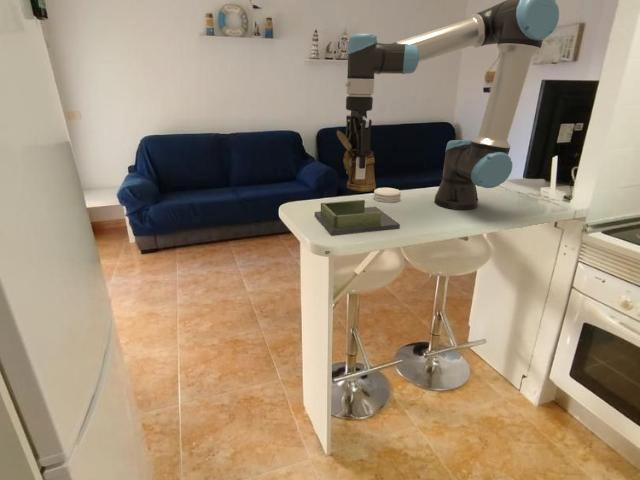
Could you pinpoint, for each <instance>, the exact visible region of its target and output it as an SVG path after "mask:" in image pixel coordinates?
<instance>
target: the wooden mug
mask: <svg viewBox="0 0 640 480" xmlns="http://www.w3.org/2000/svg"><path fill="white" fill-rule="evenodd" d="M336 136H337V138H338V140H339V141H340V143H341V144H342V145H343V147H344V148H345V149H346V150H345V152H344V155H343V160H342V161H343V167H344V169H345V171H346V174H347V173H348V174H347V175H348V180H347V184H346V188H347V189H349V190H351V191H353V192H361V193H362V192H365V193H366V192H374V190H376V189H377V186H376V185H377V184H376V180H375V179H376V178H375V166H374V165H375V162H376V161H375V156H374V151H372V150H370V156H367V157H366V169H365V179H355V178H356V159H357V157H356V155H358V150H357V151H356V150H352V144H351V142H350V140H349V139H348V137H347V136H346V133H344V132H343V131H341V129H340V130H339V129H337V131H336ZM350 158H352V159H351V161H352V165H351V166H349V160H350Z"/></svg>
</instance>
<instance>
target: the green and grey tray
mask: <svg viewBox="0 0 640 480" xmlns="http://www.w3.org/2000/svg"><path fill="white" fill-rule="evenodd" d="M365 205H366V200H365V199H355V200H343V201H342V200H341V201H331V202H321V203H320V210H319V211H314V218H315V219H317V221H318V223H320V224H321V226H322V227H323V226H324V227H323V228H324V229H325V230H326V232H327V233H328V234H329V235H330V236H332V237H333V236H342V235H352V234H362V233H371V232H382V231H383V232H384V231H389V230H392V231H393V230H400V229H401V228H400V226H401V224H400V223H399V222H398V221H396V220H395V219H394V218H392V217H391V216H389V215H388V214H387V213H385V212H384V211H382V210H381V209H380V208H379V207H377V206H369V207H365Z"/></svg>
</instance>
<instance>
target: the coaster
mask: <svg viewBox="0 0 640 480" xmlns="http://www.w3.org/2000/svg"><path fill="white" fill-rule="evenodd" d="M401 192H402V191H400V190H399V189H398V188H397V189H396V188H392V187H378V188H376V189H375V190H373V200H375V201H377V202H378V203H379V202H380V203H383V204H384V203H385V204H388V203H389V204H393V203H399V201H400V200H401V195H402V194H401Z"/></svg>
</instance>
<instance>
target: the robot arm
mask: <svg viewBox="0 0 640 480" xmlns="http://www.w3.org/2000/svg"><path fill="white" fill-rule="evenodd" d="M559 20H560V7H559V4H557V1H556V0H504V1H501V2H499V3H498V4H495V5H493V6H491V7H489V8H487V9H486V8H485V9H484V10H481V11H479V12H476V13H473V14H471V15H470V16H469V18H468V19H465V20H463V21H459V22H458V21H457V22H455V23H452V24H448V25H446V26H443V27H440V28H436V29H433V30H430V31H426V32H423V33H420V34H418V35H417V34H416V35H414V36H410V37H406V38H404V39H401V40H398V41H395V42H391V43H381V42H378V40H377V39H378V38H377V35H376V34H374V33H354V34H352V35H350V37H349V39H348V48H347V77H346V78H347V80H346V83H344V84H345V87H346V94H347V95H348V96H346V99H345V110H347V111H349V112H350V115H346V117H345V119H346V120H345V121H346V124H345V125H346V129H345V135H346V136H347V137H348V139H349V140H350V142H351V144H352V150H356V151H358V155H356V157H357V159H356V178H355V179H365V169H366V157H367V156H370V151H371V134H372V132H371V128H372V122H373V121H372V119H369V118H368V112H371V111H373V101H374V98H373V97H372V95H374V90H375V89H374V87H375V75H381V74H385V75H386V74H390V75H391V74H394V75H395V74H400V75H407V74H413V73H414V72H415V71H416V70H417V68H418V66H419V62H420V63H421V62H424V61H426V60H430V59H433V58H437V57H439V56H443V55H445V54H449V53H453V52H456V51H458V50H462V49H465V48H468V47H473V48H479V47H483V46H488V45H497V46H496V47H497V49H498V50H499V52H500V55H499V57H498V58H499V59H498V62H497V67H496V69H495V73H494V75H493V76H494V77H493V79H492V80H493V81H492V84H491V88H490V92H489V96H488V99H487V103H486V105H485V109H484V113H483V117H482V120H481V124H480V128H479V131H478V134H477V136H476V137H474V138H473V139H455V140H454V139H453V140H449V141H448V142H447V144H446V146H445V147H446V148H445V154H444V155H445V156H444V163H443V169H442V170H443V171H442V179H441V182H440V184H439V187H438V189H437V191H436V193H435V195H434V201H433V202H434V204H436V205H438V206H440V207H441V208H446V209H450V210H460V211H461V210H464V211H465V210H466V211H467V210H472V209H473V210H474V209H476V208H477V207H478V205H479V197H478V190H477V187H480V188H481V187H482V188H483V189H493V188H496V187H499V186H500V185H501V184H503V183H505V182H506V181H507V180H508V178H509V177H510V175H511V173H512V170H513V161H512V158H511V156H509V154H510V152H511V151H510V150H511V145H510V144H509V142H508V139H509V135H510V133H511V132H510V131H511V128H512V126H513V122H514V120H515V119H514V118H515V116H516V111H517V109H518V105H519V102H520V99H521V97H522V96H521V95H522V91H523V89H524V86H525V83H526V79H527V77H528V76H527V74H528V73H529V68H530V65H531V62H532V60H533V59H532V58H533V56H535V55H536V54H537V53H538V52H540V51H541V48H542V45H543V42H544V40H545V39H546V38H548V37H549V36H550V35H551V34H553V32H554V31H555V30H556V28H557V26H558V23H559ZM351 159H352V158H350V160H349V166H351V165H352V161H351ZM346 174H347V175H348V173H347V172H346Z"/></svg>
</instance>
